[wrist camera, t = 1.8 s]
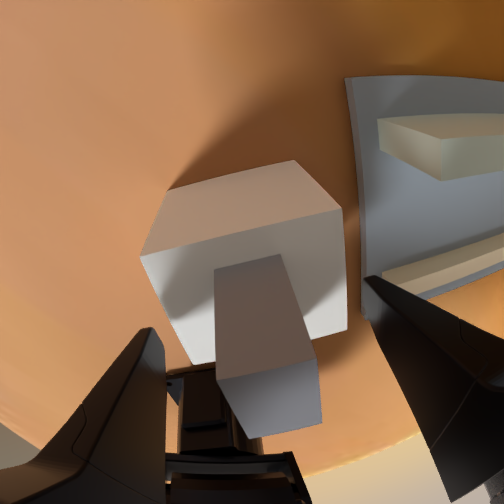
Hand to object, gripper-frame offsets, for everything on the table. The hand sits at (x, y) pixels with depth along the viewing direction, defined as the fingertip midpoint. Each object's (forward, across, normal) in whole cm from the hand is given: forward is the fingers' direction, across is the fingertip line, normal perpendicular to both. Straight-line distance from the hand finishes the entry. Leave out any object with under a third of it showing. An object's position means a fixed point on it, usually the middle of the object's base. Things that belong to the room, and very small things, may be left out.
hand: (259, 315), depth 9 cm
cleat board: (+7, -13, +1) cm, 15 cm away
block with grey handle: (+7, 0, 0) cm, 7 cm away
